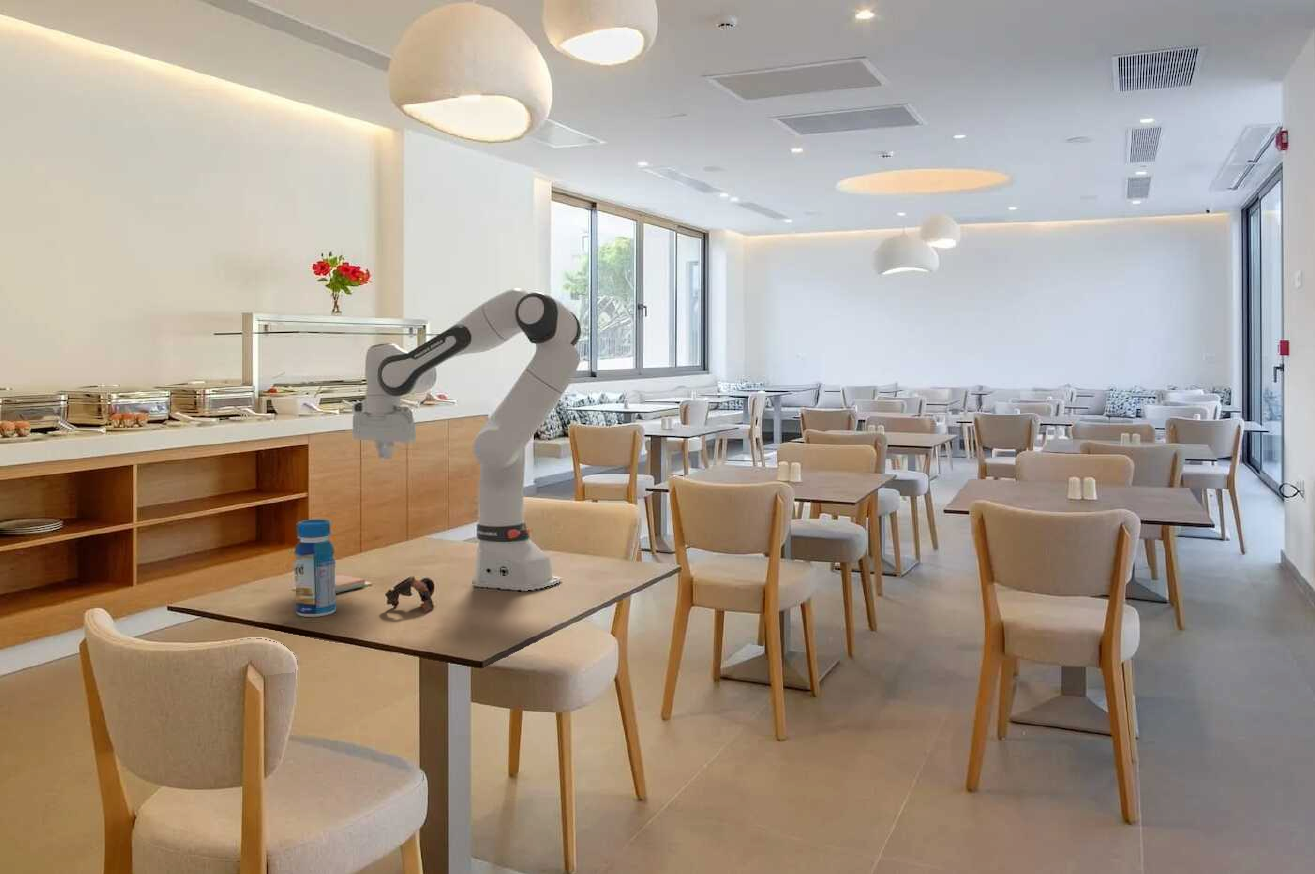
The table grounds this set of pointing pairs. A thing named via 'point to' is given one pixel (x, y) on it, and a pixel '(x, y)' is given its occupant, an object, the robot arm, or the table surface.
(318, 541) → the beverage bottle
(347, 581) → the glazed tile
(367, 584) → the cream cloth
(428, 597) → the brown ring-shaped piece
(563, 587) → the table surface
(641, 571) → the table surface
